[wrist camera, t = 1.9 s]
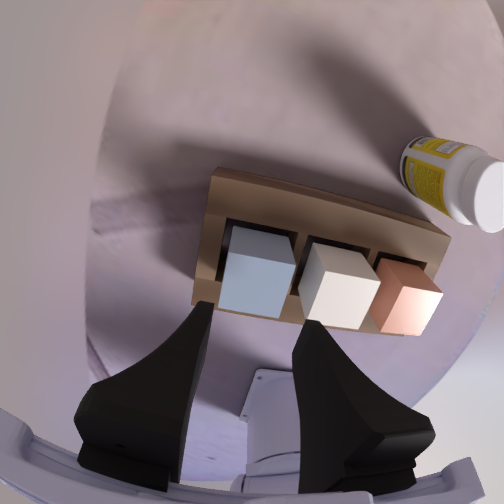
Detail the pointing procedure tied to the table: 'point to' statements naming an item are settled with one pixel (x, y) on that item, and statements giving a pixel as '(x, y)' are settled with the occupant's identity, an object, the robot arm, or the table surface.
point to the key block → (308, 233)
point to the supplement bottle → (456, 180)
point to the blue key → (257, 272)
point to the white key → (337, 286)
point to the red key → (403, 298)
